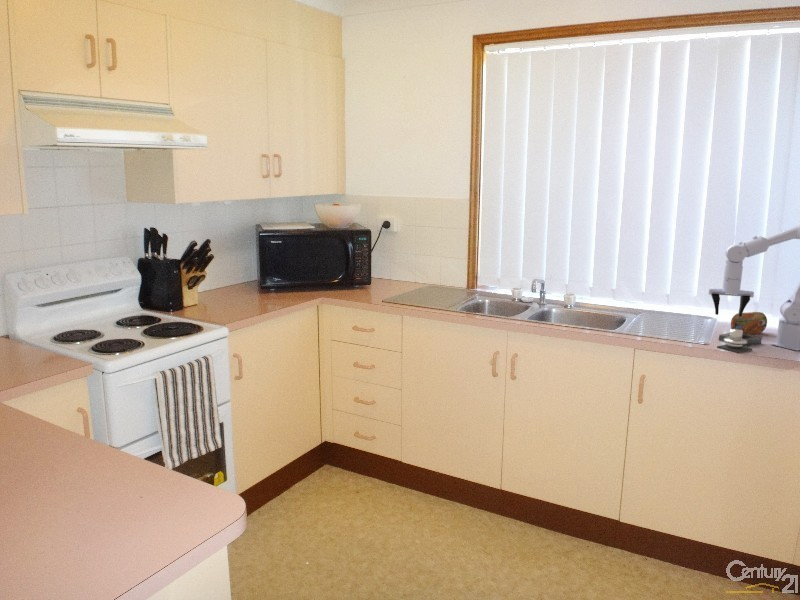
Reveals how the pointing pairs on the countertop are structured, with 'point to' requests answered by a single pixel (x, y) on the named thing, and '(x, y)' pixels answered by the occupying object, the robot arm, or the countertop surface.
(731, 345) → the door knob
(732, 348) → the mat
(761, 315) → the orange patterned rounded block
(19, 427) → the countertop surface
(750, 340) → the frame
